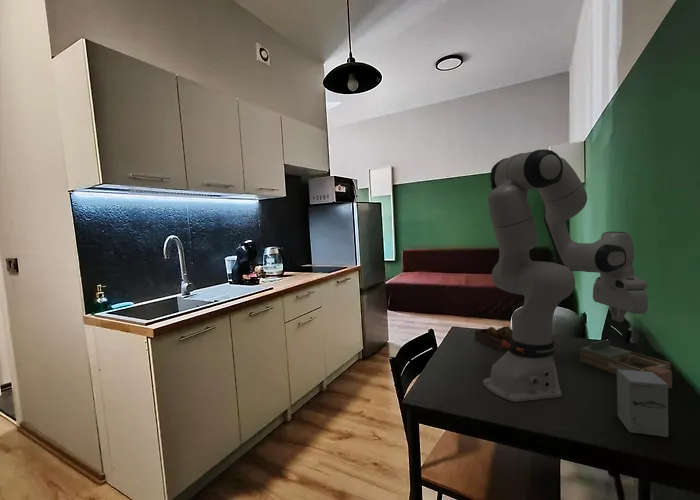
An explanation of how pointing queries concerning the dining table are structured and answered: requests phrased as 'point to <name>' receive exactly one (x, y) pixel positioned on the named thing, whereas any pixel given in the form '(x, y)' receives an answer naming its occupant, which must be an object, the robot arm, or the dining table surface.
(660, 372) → the cube
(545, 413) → the dining table surface
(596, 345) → the cover
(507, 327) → the lion figurine
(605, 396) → the dining table surface
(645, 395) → the supplement box
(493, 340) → the lion stand
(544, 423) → the dining table surface
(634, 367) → the wooden box
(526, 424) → the dining table surface
